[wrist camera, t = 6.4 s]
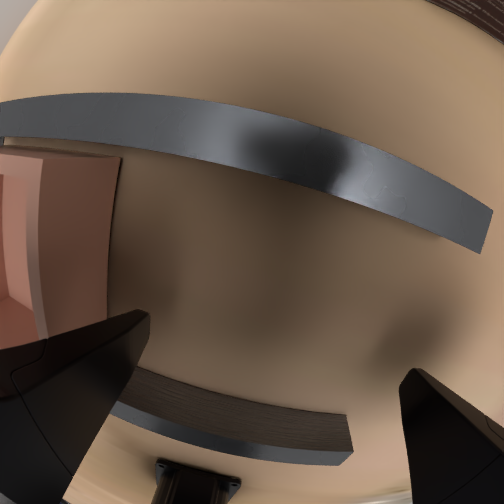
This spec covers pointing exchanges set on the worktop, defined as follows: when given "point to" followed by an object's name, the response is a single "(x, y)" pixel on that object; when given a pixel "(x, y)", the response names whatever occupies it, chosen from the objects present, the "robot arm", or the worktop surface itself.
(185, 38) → the worktop surface
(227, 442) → the crate bay
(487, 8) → the box
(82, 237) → the crate
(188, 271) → the worktop surface
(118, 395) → the robot arm
